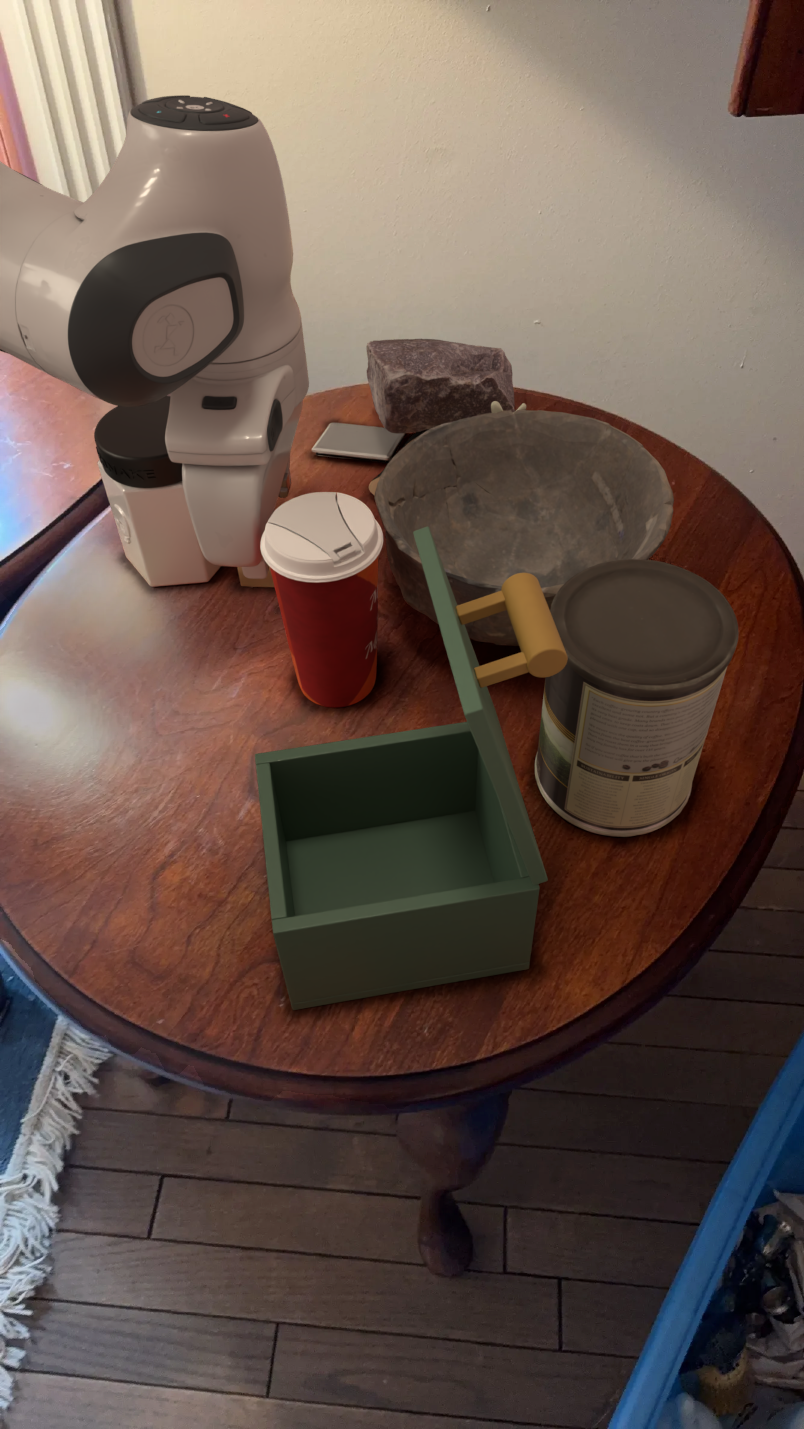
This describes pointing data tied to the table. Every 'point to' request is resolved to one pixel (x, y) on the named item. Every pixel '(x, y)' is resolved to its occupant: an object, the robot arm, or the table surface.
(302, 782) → the chest
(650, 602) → the coffee can
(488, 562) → the bowl
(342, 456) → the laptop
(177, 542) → the jar
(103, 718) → the table surface
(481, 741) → the lid
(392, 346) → the rock
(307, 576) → the paper cup
